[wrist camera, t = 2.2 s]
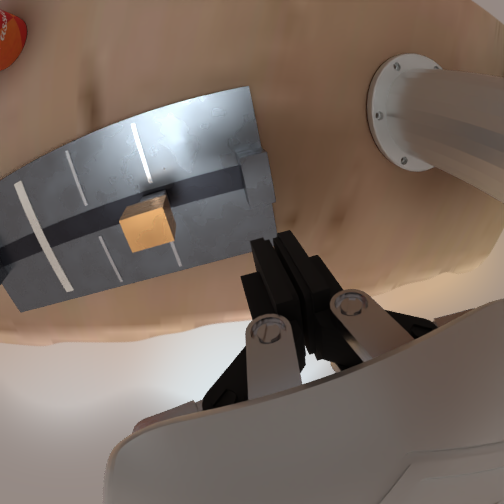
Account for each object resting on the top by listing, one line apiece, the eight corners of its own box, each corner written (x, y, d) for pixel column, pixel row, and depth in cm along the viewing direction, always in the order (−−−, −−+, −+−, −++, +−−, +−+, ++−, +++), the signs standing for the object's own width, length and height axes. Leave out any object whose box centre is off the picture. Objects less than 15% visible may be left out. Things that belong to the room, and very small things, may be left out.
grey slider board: (244, 86, 21) (253, 85, 18) (273, 234, 28) (284, 255, 25) (-27, 198, 19) (-48, 214, 16) (26, 301, 27) (14, 324, 23)
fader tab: (169, 182, 22) (162, 207, 17) (178, 209, 23) (174, 240, 18) (134, 193, 21) (118, 220, 17) (143, 219, 23) (132, 252, 18)
